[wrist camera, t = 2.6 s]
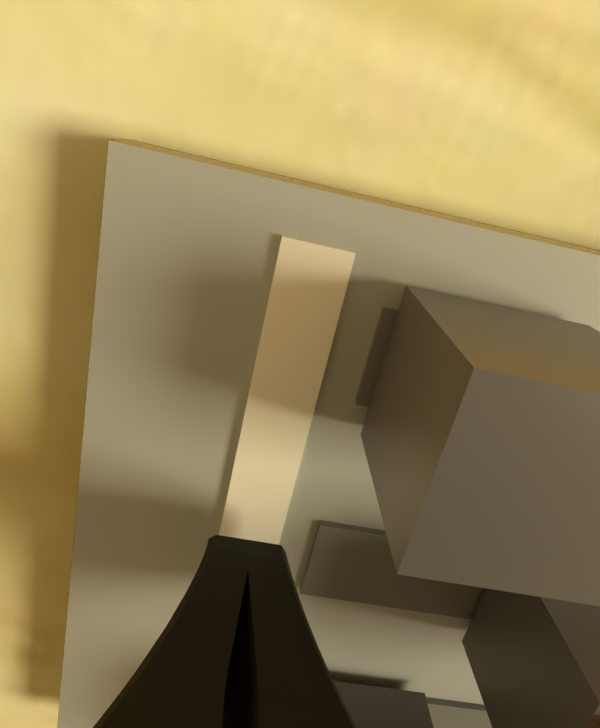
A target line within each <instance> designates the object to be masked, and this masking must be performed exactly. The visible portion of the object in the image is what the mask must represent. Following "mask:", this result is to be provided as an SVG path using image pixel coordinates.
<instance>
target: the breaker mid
mask: <svg viewBox="0 0 600 728" xmlns="http://www.w3.org/2000/svg"><path fill="white" fill-rule="evenodd" d="M462 643H463V646H464V649H465V652H466V654H467V657H468V660H469V663H470V666H471V669H472V671H473V674H474V677H475V680H476V683H477V686H478V688H479V691H480V694H481V697H482V700H483V703H484V705H485V708H486V711H487V714H488V717H489V720H490V722H491V725H492V728H600V606H594V605H588V604H582V603H575V602H569V601H563V600H556V599H550V598H544V597H537V596H531V595H525V594H518V593H512V592H506V591H499V590H493V589H487V588H486V590H485V592H484V594H483V596H482V598H481V601H480V603H479V605H478V607H477V609H476V611H475V614H474V616H473V618H472V620H471V622H470V624H469V627H468V629H467V631H466V633H465V635H464V638H463V640H462Z"/></svg>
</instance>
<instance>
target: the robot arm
mask: <svg viewBox="0 0 600 728" xmlns="http://www.w3.org/2000/svg"><path fill="white" fill-rule="evenodd" d="M93 728H357V727H356V725H355V723H354V721H353V720H352V718H351V716H350V714H349V712H348V710H347V708H346V706H345V704H344V702H343V700H342V698H341V696H340V694H339V692H338V689H337V687H336V685H335V683H334V681H333V679H332V677H331V675H330V673H329V670H328V668H327V666H326V664H325V661H324V659H323V657H322V655H321V652H320V650H319V647H318V645H317V642H316V640H315V638H314V635H313V633H312V630H311V628H310V625H309V623H308V620H307V618H306V615H305V612H304V610H303V607H302V604H301V601H300V598H299V595H298V593H297V590H296V587H295V584H294V580H293V577H292V574H291V570H290V567H289V563H288V559H287V555H286V551H285V550H284V548H283V547H282V546H281V545H277V544H271V543H265V542H259V541H252V540H246V539H240V538H234V537H227V536H221V535H214V536H213V537H211V538H209V539H208V543H207V547H206V550H205V553H204V556H203V558H202V561H201V563H200V565H199V568H198V570H197V572H196V574H195V576H194V578H193V580H192V582H191V584H190V586H189V588H188V590H187V592H186V593H185V595H184V597H183V598H182V600H181V602H180V604H179V605H178V607H177V609H176V610H175V612H174V614H173V616H172V617H171V619H170V621H169V622H168V624H167V626H166V627H165V629H164V630H163V632H162V633H161V635H160V636H159V638H158V639H157V641H156V642H155V644H154V645H153V647H152V648H151V650H150V651H149V653H148V654H147V656H146V657H145V659H144V660H143V661H142V663H141V664H140V666H139V667H138V669H137V670H136V672H135V673H134V674H133V676H132V677H131V678H130V680H129V681H128V683H127V684H126V685H125V687H124V688H123V689H122V691H121V692H120V693H119V695H118V696H117V697H116V699H115V700H114V701H113V702H112V704H111V705H110V706H109V708H108V709H107V710H106V711H105V713H104V714H103V715H102V716H101V718H100V719H99V720H98V722H97V723H96V724H95V725H94V726H93Z"/></svg>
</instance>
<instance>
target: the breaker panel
mask: <svg viewBox="0 0 600 728" xmlns="http://www.w3.org/2000/svg"><path fill="white" fill-rule="evenodd" d="M406 285H407V286H412V287H416V288H421V289H425V290H430V291H434V292H439V293H444V294H448V295H453V296H457V297H462V298H466V299H471V300H475V301H480V302H485V303H489V304H494V305H498V306H503V307H507V308H512V309H517V310H521V311H526V312H530V313H535V314H539V315H544V316H548V317H553V318H558V319H562V320H567V321H571V322H576V323H580V324H585V325H589V326H591V327H592V328H594V329H596V330H597V331H599V332H600V251H598V250H594V249H590V248H586V247H581V246H577V245H573V244H569V243H564V242H560V241H556V240H552V239H547V238H543V237H539V236H535V235H531V234H526V233H522V232H518V231H514V230H509V229H505V228H501V227H497V226H492V225H488V224H484V223H480V222H475V221H471V220H467V219H463V218H459V217H454V216H450V215H446V214H442V213H437V212H433V211H429V210H425V209H420V208H416V207H412V206H408V205H403V204H399V203H395V202H391V201H387V200H382V199H378V198H374V197H370V196H365V195H361V194H357V193H353V192H348V191H344V190H340V189H336V188H331V187H327V186H323V185H319V184H315V183H310V182H306V181H302V180H298V179H293V178H289V177H285V176H281V175H276V174H272V173H268V172H264V171H259V170H255V169H251V168H247V167H243V166H238V165H234V164H230V163H226V162H221V161H217V160H213V159H209V158H204V157H200V156H196V155H192V154H187V153H183V152H179V151H175V150H171V149H166V148H162V147H158V146H154V145H149V144H145V143H141V142H137V141H132V140H109V142H108V154H107V165H106V176H105V188H104V199H103V211H102V222H101V234H100V245H99V256H98V268H97V279H96V291H95V302H94V314H93V325H92V337H91V348H90V359H89V371H88V382H87V394H86V405H85V417H84V428H83V439H82V451H81V462H80V474H79V485H78V497H77V508H76V519H75V531H74V542H73V554H72V565H71V577H70V588H69V599H68V611H67V622H66V634H65V645H64V657H63V668H62V679H61V691H60V702H59V714H58V725H57V728H93V726H94V725H95V724H96V723H97V722H98V720H99V719H100V718H101V716H102V715H103V714H104V713H105V711H106V710H107V709H108V708H109V706H110V705H111V704H112V702H113V701H114V700H115V699H116V697H117V696H118V695H119V693H120V692H121V691H122V689H123V688H124V687H125V685H126V684H127V683H128V681H129V680H130V678H131V677H132V676H133V674H134V673H135V672H136V670H137V669H138V667H139V666H140V664H141V663H142V661H143V660H144V659H145V657H146V656H147V654H148V653H149V651H150V650H151V648H152V647H153V645H154V644H155V642H156V641H157V639H158V638H159V636H160V635H161V633H162V632H163V630H164V629H165V627H166V626H167V624H168V622H169V621H170V619H171V617H172V616H173V614H174V612H175V610H176V609H177V607H178V605H179V604H180V602H181V600H182V598H183V597H184V595H185V593H186V592H187V590H188V588H189V586H190V584H191V582H192V580H193V578H194V576H195V574H196V572H197V570H198V568H199V565H200V563H201V561H202V558H203V556H204V553H205V550H206V547H207V543H208V539H209V538H211V537H213V536H214V535H221V536H227V537H234V538H240V539H246V540H252V541H259V542H265V543H271V544H277V545H281V546H282V547H283V548H284V550H285V551H286V555H287V559H288V563H289V567H290V570H291V574H292V577H293V580H294V584H295V587H296V590H297V593H298V595H299V598H300V601H301V604H302V607H303V610H304V612H305V615H306V618H307V620H308V623H309V625H310V628H311V630H312V633H313V635H314V638H315V640H316V642H317V645H318V647H319V650H320V652H321V655H322V657H323V659H324V661H325V664H326V666H327V668H328V670H329V673H330V675H331V677H332V679H333V681H339V682H346V683H354V684H361V685H369V686H376V687H384V688H391V689H399V690H406V691H414V692H421V693H425V696H426V700H427V704H428V708H429V712H430V716H431V719H432V723H433V727H434V728H492V725H491V722H490V720H489V717H488V714H487V711H486V708H485V705H484V703H483V700H482V697H481V694H480V691H479V688H478V686H477V683H476V680H475V677H474V674H473V671H472V669H471V666H470V663H469V660H468V657H467V654H466V652H465V649H464V646H463V643H462V640H463V638H464V635H465V633H466V631H467V629H468V627H469V624H470V622H471V620H472V618H473V616H474V614H475V611H476V609H477V607H478V605H479V603H480V601H481V598H482V596H483V594H484V592H485V590H486V588H481V587H474V586H468V585H462V584H455V583H449V582H443V581H436V580H430V579H424V578H417V577H411V576H405V575H398V574H397V573H396V569H395V566H394V562H393V558H392V554H391V550H390V546H389V542H388V539H387V535H386V531H385V527H384V523H383V519H382V515H381V512H380V508H379V504H378V500H377V496H376V492H375V488H374V485H373V481H372V477H371V473H370V469H369V465H368V461H367V458H366V454H365V450H364V446H363V442H362V438H361V431H362V428H363V425H364V422H365V418H366V415H367V412H368V408H369V405H370V402H371V399H372V395H373V392H374V389H375V385H376V382H377V379H378V376H379V372H380V369H381V366H382V363H383V359H384V356H385V353H386V349H387V346H388V343H389V340H390V336H391V333H392V330H393V327H394V323H395V320H396V317H397V313H398V310H399V307H400V304H401V300H402V297H403V294H404V290H405V287H406Z"/></svg>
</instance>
